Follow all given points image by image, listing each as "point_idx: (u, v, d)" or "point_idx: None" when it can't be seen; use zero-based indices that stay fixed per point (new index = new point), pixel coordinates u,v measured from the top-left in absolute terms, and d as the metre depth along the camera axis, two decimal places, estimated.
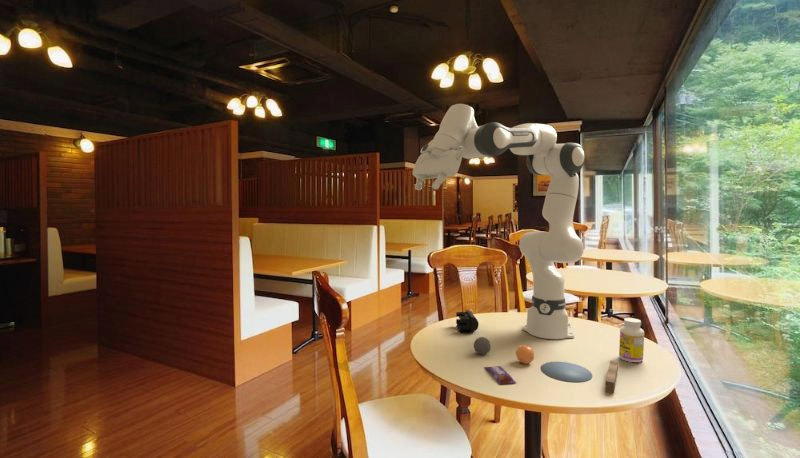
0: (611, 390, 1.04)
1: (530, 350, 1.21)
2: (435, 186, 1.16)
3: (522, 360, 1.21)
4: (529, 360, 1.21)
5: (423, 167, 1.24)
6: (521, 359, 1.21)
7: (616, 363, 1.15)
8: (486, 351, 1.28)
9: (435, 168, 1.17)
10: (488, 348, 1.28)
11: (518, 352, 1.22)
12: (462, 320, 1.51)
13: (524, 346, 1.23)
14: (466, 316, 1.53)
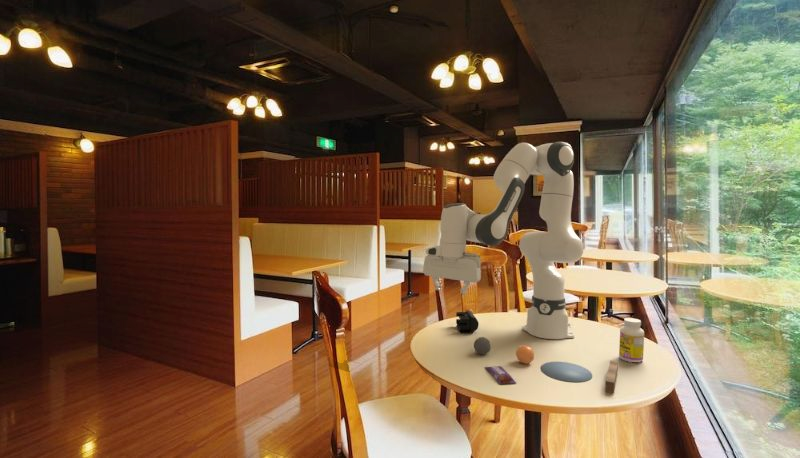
0: (611, 390, 1.04)
1: (530, 350, 1.21)
2: (464, 293, 1.30)
3: (522, 360, 1.21)
4: (529, 360, 1.21)
5: (439, 271, 1.33)
6: (521, 359, 1.21)
7: (616, 363, 1.15)
8: (486, 351, 1.28)
9: (458, 277, 1.29)
10: (488, 348, 1.28)
11: (518, 352, 1.22)
12: (462, 320, 1.51)
13: (524, 346, 1.23)
14: (466, 316, 1.53)
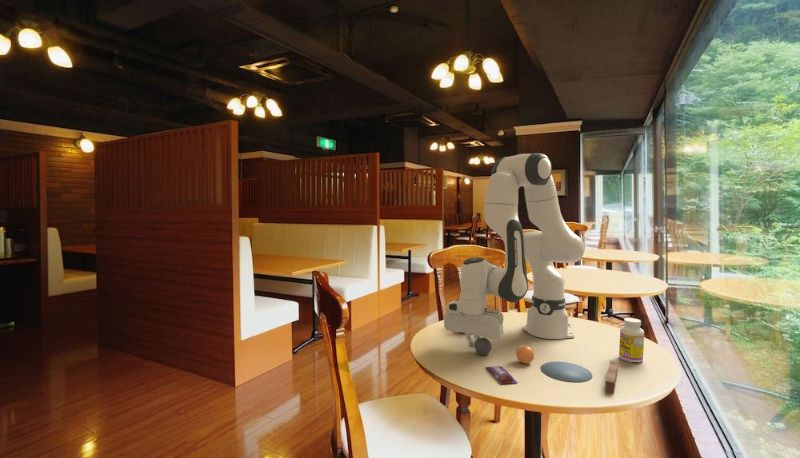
0: (611, 390, 1.04)
1: (530, 350, 1.21)
2: None
3: (522, 360, 1.21)
4: (529, 360, 1.21)
5: (460, 326, 1.33)
6: (521, 359, 1.21)
7: (616, 363, 1.15)
8: (487, 352, 1.28)
9: (481, 333, 1.29)
10: (489, 349, 1.28)
11: (518, 352, 1.22)
12: None
13: (524, 346, 1.23)
14: None
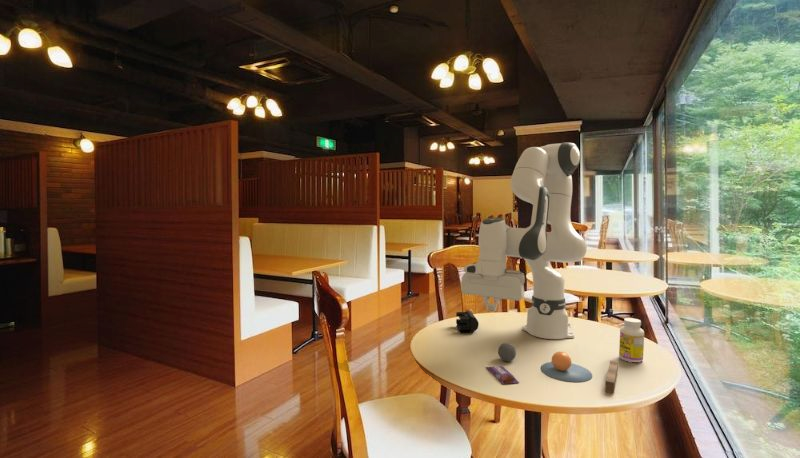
0: (611, 390, 1.04)
1: None
2: (495, 309, 1.27)
3: (563, 362, 1.15)
4: (557, 356, 1.16)
5: (479, 289, 1.28)
6: (563, 363, 1.15)
7: (616, 363, 1.15)
8: (498, 352, 1.25)
9: (501, 295, 1.24)
10: None
11: (562, 369, 1.16)
12: (462, 320, 1.51)
13: None
14: (466, 316, 1.53)
